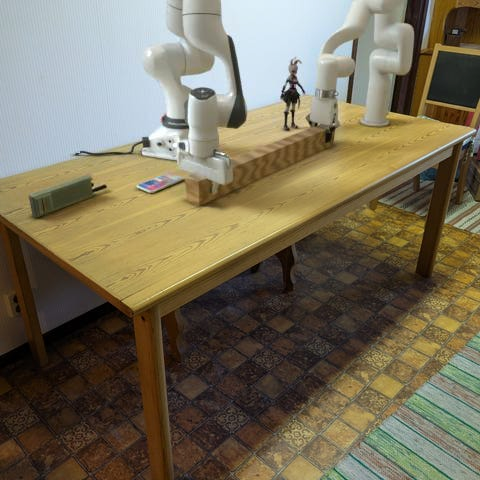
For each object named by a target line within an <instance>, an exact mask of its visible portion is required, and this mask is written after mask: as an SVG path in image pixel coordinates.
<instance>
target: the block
mask: <svg viewBox="0 0 480 480" xmlns="http://www.w3.org/2000/svg"><path fill="white" fill-rule="evenodd" d="M333 126H335V124H333ZM326 133H327V127H326V125H323V124H318V125H317V126H314V127H312V128H310V127H309V128H307V129H305V130H304V129H303V130H302V131H299V132H297V133H294V134H291V135H289V136H287V137H284V138H281V139H278V140H276V141H274V142H270V143H269V144H265V145H263V146H261V147H259V148H255V149H253V150H250V151H248V152H245V153H243V154H240V155H238V156H235V157H231V164H232V170H233V180H232V182H231V183H229V184H227V185H222V184H219V186H218V188H217V193H216V194H212V193H210V188H211V187H213V184H212V181H211V180H208V179H207V178H205V177H202V176H200V175H197V174H191V175H190V174H188V175H186V176H184V179H185V198H186V202H188V203H190V204H193V205H196V206H198V207H200V206H203V205H205V204H207V203H209V202H212V201H214V200H216V199H218V198H220V197H222V196H225V195H227V194H229V193H231V192H234V191H236V190H238V189H241V188H242V187H244V186H247V185H248V184H249V185H250V184H251V183H253V182H255V181H256V182H257V180H260V179H262V178H264V177H266V176H269V175H271V174H274V173H276V172H278V171H280V170H282V169H284V168H286V167H288V166H290V165H293V164H295V163H297V162H299V161H302V160H304V159H306V158H308V157H310V156H313V155H315V154H317V153H319V152H322V151H324V150H326V149H329V148H330V147H332V146H334V145H335V138H336V137H335V135H336V129H335V130H334V131H333V132H332V139H331V141H330V142H328V143H325V137H326Z"/></svg>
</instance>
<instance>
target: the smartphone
mask: <svg viewBox="0 0 480 480" xmlns="http://www.w3.org/2000/svg"><path fill="white" fill-rule="evenodd" d="M182 181H184V177H183V176H180V175H179V174H174V173H172V172H166V173H163V174H161V175H159V176H156V177H154V178H151V179H149V180H146V181H143V182H141V183H138V184H137V185H136V188H137V189H139V190H141V191H143V192H145V193H148V194H154V193H156V192H158V191H160V190H161V191H162V190H164V189H166V188H168V187H170V186H172V185H175V184H177V183H180V182H182Z"/></svg>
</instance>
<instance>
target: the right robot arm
mask: <svg viewBox="0 0 480 480" xmlns="http://www.w3.org/2000/svg"><path fill="white" fill-rule="evenodd" d="M405 2H406V0H352V1H351V4H350V7H349V9H348V12H347V14H346V17H345V19H344V21H343V24H342V26H341V27H339V28H338V29H336V30H334V32H333V33H332V34H331V35H330V36H329V37H328V38H326V40H325V41H324V43H323V44H322V47H321V49H320V52H319V54H318V57H317V60H316V61H317V62H316V80H315V90H314V91H315V92H314V95H313V97H312V100H311V104H310V109H309V110H310V111H309V113H308V114H307V115H306V116H305V120H306V121H307V123H308V125H309V128H312V127H314V126H317V125H320V124H323V125H326V127H327V133H326V137H325V143H328V142H330V141H331V139H332V132H333V131H334V130H335V131H336V130H337V129H338V128H340V127H341V122H340V121H339V118H338V117H339V102H338V96H339V92H338V91H337V86H338V85H337V84H338V79H339V78H344V79H345V78H348V77H350V76H352V74H353V73H354V71H355V69H356V62H355V60H354V59H353V58H352V57H350V56H347V55H341V54H334V53H335V51H336V50H337V49H338V48H339V47H340V46H342V45H343V44H345V43H348V42H351V41H354V40H356V39H358V38H361V37H363V36H364V34H365V33H366V30H367V28H368V25H369V22H370V20H371V18H372V15H374V25H373V26H374V27H373V41H374V44H375V45H377V46H379V47H381V48H376V49H374V50H372V52H371V53H370V56H369V59H368V64H369V65H368V66H369V78H368V85H367V93H366V94H367V95H366V101H365V108H364V115H363V116H362V117H361V118H360V119H359V122H360V124H362V125H364V126H368V127H375V128H376V127H378V128H380V127H386V126H389V124H390V121H389V120H388V119H387V116H389V115H390V112H389V110H388V108H389V102H390V96H391V95H390V94H391V90H392V80H391V76H390V75H396V76H405V75H407V74H409V72H410V70H411V68H412V63H413V55H414V54H413V53H414V43H415V42H414V41H415V31H414V30H415V29H414V27H413V26H412V25H411V24H409V23H406V22H404V23H403V22H398V21H397V16H398V15H397V14H398V13H397V12H398V11H397V10H398V8H400V7H401V6H402V5H403V4H404V3H405ZM389 74H390V75H389ZM333 125H335V126H333Z"/></svg>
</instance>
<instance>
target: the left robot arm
mask: <svg viewBox="0 0 480 480" xmlns="http://www.w3.org/2000/svg"><path fill="white" fill-rule="evenodd" d="M222 14H223V13H222V0H166V7H165V26H166V28H167V30H168V31H169V32H170V33H172V34H173V35H174V36H176V37H179V41H178V42H168V43H167V42H166V43H157V44H153V45H150V46H148V47H146V48H145V49H144V51H143V54H142V57H141V59H142V61H141V62H142V67H143V69H144V71H145V73H146V74H147V75H148V76H150V77H151V78H152V79H154V80H155V81H156V82H157V83H158V85H159V87H160V88H161V90H162V92H163V96H164V102H165V113H163V114H162V116H161V118H160V123H161V125H159V127H157V128H156V129H155V130H154V131H152V132H151V133H150V135H149V136H142V137H141V141H138V142H136V143H134V144H132V146H131V149H130V151H127V152H121V151H106V152H90V151H86V150H79V151H80V153H77V152H75V154H74V156H79V154H86V155H89V156H105V155H106V156H109V155H131V154H133V153H134V150H135V147H137V146H139V145H142V150H141V155H142V156H145V157H152V158H157V159H164V160H170V161H176V162H177V164H176V165H177V167H178V169H179V170H180V171H183V172H185V173H188V174H189V175H191V174H197V175H200V176H202V177H205V178H207V179H208V180H211V181H212V184H213V187H211V188H210V193H212V194H216V193H217V188H218V186H219V184H222V185H227V184H229V183H231V182H232V180H233V170H232V164H231V159H232V157H230V156H229V155H228V153H226V152H222V151H221V150H220V134H219V130H218V129H219V128H226V129H233V130H234V129H235V130H237V129H239V128H240V127H242V126H243V125H244V124H245V123H246V121H247V118H248V105H247V102H246V99H245V96H244V93H243V85H242V79H241V71H240V66H239V61H238V55H237V49H236V45H235V42H234V39H233V37H232V36H231V35H229V34H227V32H226V30H225V28H224V25H223V19H222V17H223V15H222ZM216 57H217V58H218V59H219V60H221V62H222V63H223V65H224V69H225V74H226V81H227V86H228V92H227V93H221V94H219V93H217V92H216V91H215V89H213V88H210V87H205V86H201V87H195V88H193V89H192V88H191V87H189V86H187V85H185V84H183V83H182V80H181V79H182V78H181V77H186V76H198V75H201V74H205V73H207V72H210V71H211V70H213V67H214V65H215V61H216Z"/></svg>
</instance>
